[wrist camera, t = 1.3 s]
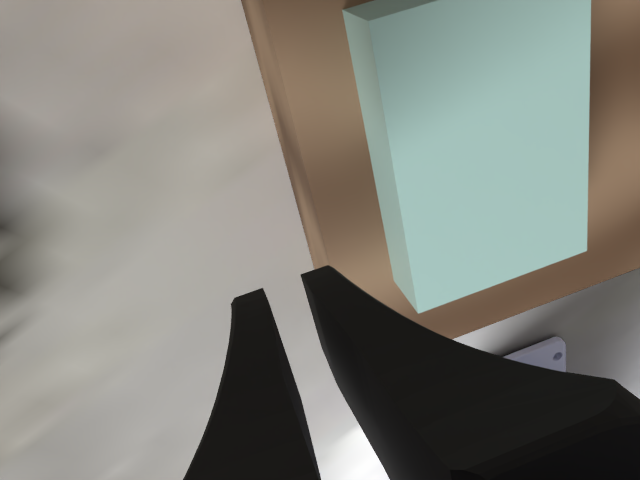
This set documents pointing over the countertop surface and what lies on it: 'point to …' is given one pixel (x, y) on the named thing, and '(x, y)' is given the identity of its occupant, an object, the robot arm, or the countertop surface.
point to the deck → (358, 179)
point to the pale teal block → (475, 136)
